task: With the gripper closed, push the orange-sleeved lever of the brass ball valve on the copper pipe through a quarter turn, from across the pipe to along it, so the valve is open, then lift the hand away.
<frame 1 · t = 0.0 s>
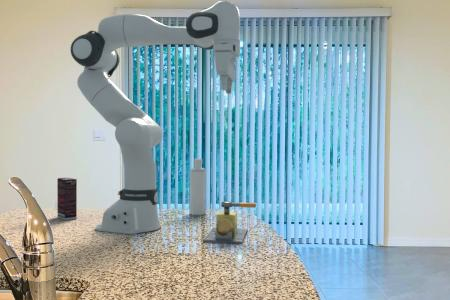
hand: (226, 92, 132), 48 cm above the countertop, fingers open, 8 cm apart
lever: (238, 204, 126), point 11 cm above the countertop, hinge at 0.0°
valve: (226, 236, 127), on the countertop
grey bottle: (197, 214, 165), on the countertop
supplement box: (67, 218, 154), on the countertop
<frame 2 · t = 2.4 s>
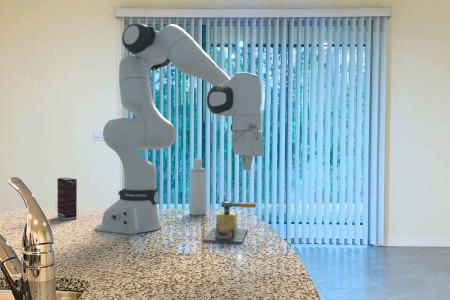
hand: (246, 170, 119), 22 cm above the countertop, fingers closed
nothing on the countertop moved.
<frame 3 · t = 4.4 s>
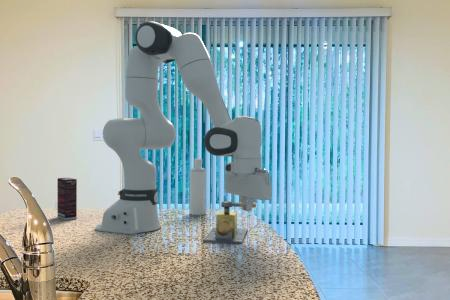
hand: (247, 210, 123), 9 cm above the countertop, fingers closed
lever: (238, 204, 126), point 11 cm above the countertop, hinge at 0.0°, touching gripper
everything else where it was.
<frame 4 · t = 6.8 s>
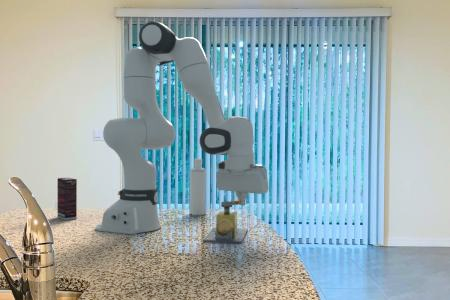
hand: (241, 205, 131), 10 cm above the countertop, fingers closed, pressing on lever
lever: (233, 202, 130), point 11 cm above the countertop, hinge at 62.3°, touching gripper
everything else where it was.
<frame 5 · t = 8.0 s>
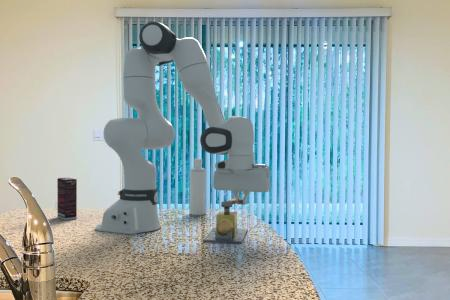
hand: (241, 204, 132), 10 cm above the countertop, fingers closed
lever: (231, 202, 130), point 11 cm above the countertop, hinge at 77.0°
everything else where it was.
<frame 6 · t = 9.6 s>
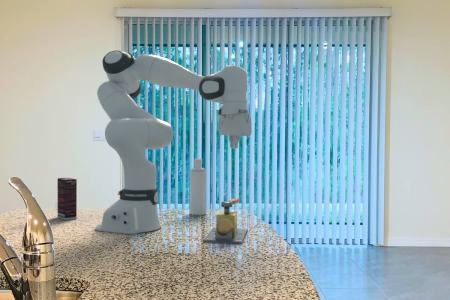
hand: (233, 148, 142), 29 cm above the countertop, fingers closed
nothing on the countertop moved.
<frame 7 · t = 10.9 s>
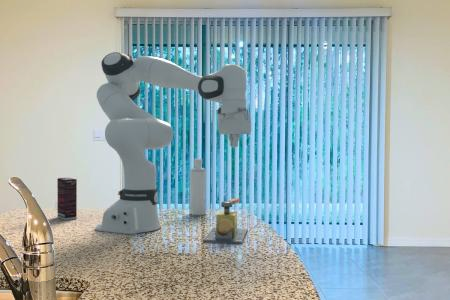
hand: (233, 146, 142), 29 cm above the countertop, fingers closed
nothing on the countertop moved.
at the end: lever at +77° (first picture: +0°) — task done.
